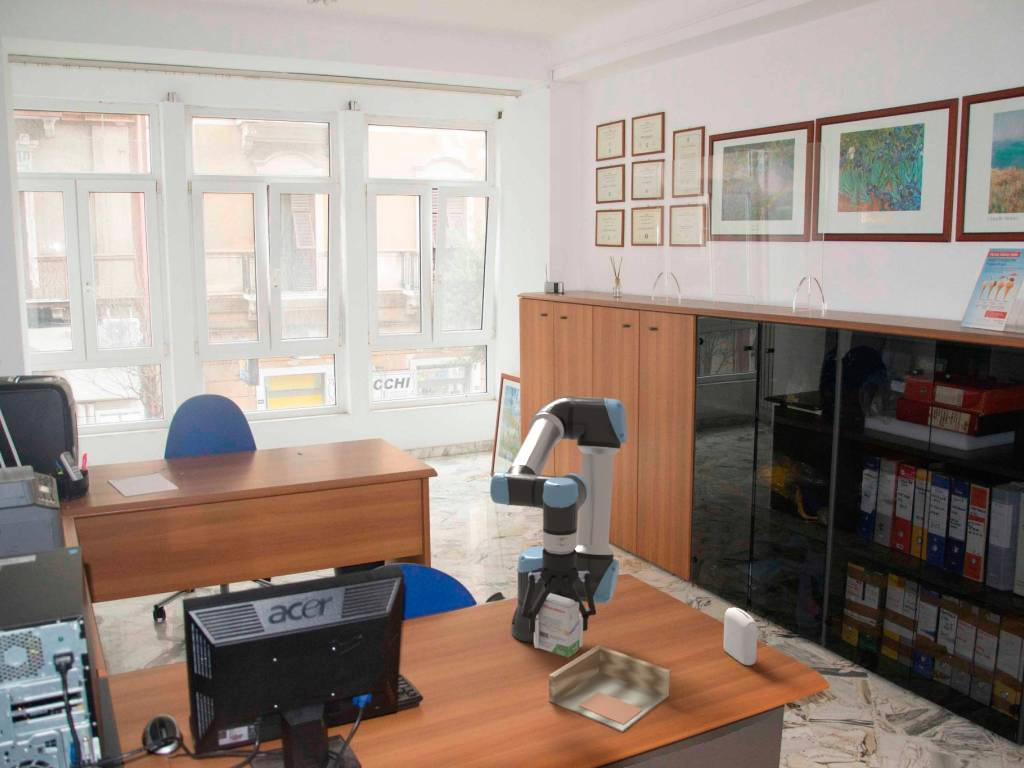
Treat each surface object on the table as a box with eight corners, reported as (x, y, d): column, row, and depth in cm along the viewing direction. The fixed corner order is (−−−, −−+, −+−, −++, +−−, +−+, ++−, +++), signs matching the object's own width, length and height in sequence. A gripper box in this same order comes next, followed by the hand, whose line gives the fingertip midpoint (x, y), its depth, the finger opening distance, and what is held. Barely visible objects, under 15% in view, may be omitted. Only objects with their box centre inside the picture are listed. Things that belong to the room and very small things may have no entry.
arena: (548, 700, 202) (549, 675, 200) (597, 669, 217) (598, 644, 216) (622, 732, 189) (623, 704, 188) (668, 695, 204) (669, 670, 203)
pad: (578, 706, 199) (578, 705, 199) (598, 692, 205) (598, 691, 205) (623, 724, 191) (623, 723, 191) (642, 710, 197) (642, 709, 197)
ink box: (579, 650, 195) (580, 600, 193) (568, 658, 191) (569, 607, 189) (548, 639, 200) (548, 591, 198) (535, 647, 196) (536, 598, 194)
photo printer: (720, 649, 228) (722, 604, 226) (734, 646, 229) (736, 602, 227) (743, 667, 218) (746, 620, 216) (758, 664, 220) (760, 618, 218)
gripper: (511, 555, 187) (510, 653, 191) (612, 553, 189) (609, 650, 193) (508, 543, 195) (508, 638, 198) (605, 541, 197) (603, 635, 200)
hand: (558, 644), depth 196 cm, fingers closed on ink box, 9 cm apart
